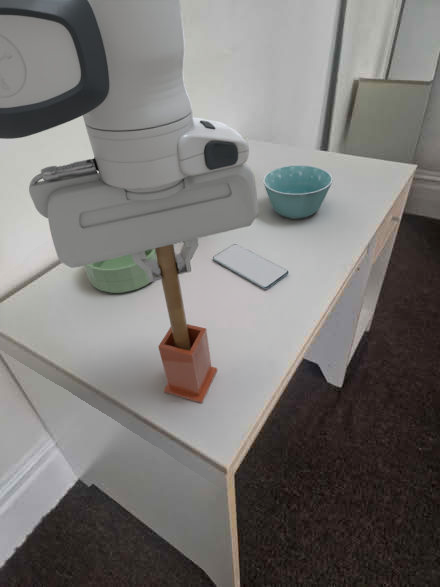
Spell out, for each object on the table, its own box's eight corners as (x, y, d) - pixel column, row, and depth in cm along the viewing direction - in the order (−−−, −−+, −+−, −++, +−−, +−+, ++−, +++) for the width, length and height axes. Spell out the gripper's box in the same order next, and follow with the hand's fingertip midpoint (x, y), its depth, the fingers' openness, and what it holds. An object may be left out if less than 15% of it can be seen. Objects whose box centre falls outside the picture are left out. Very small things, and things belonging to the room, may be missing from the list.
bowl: (263, 227, 86) (264, 194, 80) (262, 196, 97) (262, 165, 92) (333, 226, 84) (338, 192, 79) (323, 194, 96) (326, 163, 90)
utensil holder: (164, 392, 54) (151, 348, 47) (181, 360, 58) (172, 317, 51) (202, 403, 52) (194, 360, 45) (217, 370, 56) (212, 326, 50)
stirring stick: (174, 356, 50) (149, 244, 38) (180, 345, 51) (158, 234, 40) (187, 360, 49) (166, 246, 38) (193, 349, 51) (175, 236, 39)
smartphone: (266, 288, 68) (211, 257, 77) (266, 291, 69) (211, 259, 77) (290, 271, 72) (235, 243, 80) (289, 273, 72) (235, 245, 81)
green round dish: (74, 287, 74) (63, 262, 70) (115, 245, 84) (109, 222, 80) (140, 301, 69) (133, 276, 65) (175, 255, 79) (171, 231, 76)
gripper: (17, 187, 28) (75, 317, 37) (265, 140, 32) (263, 267, 41) (22, 159, 32) (73, 281, 42) (239, 121, 37) (242, 239, 46)
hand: (169, 274), depth 41 cm, fingers closed on stirring stick, 2 cm apart
